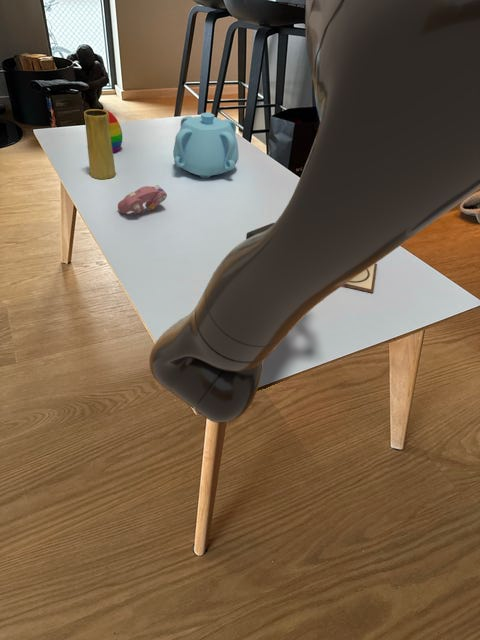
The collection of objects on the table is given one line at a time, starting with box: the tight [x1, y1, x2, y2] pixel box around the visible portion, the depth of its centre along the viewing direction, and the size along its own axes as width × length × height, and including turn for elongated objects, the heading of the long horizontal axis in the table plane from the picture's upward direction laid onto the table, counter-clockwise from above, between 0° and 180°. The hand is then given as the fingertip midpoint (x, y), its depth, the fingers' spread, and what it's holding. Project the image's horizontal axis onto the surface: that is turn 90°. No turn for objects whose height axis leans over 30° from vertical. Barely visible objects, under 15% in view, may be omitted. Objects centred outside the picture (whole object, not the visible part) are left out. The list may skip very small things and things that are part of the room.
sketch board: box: [342, 263, 378, 294], centre depth 87 cm, size 10×10×1 cm
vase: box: [83, 108, 117, 180], centre depth 108 cm, size 6×6×14 cm
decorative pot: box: [172, 112, 240, 179], centre depth 116 cm, size 16×16×14 cm
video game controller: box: [117, 184, 168, 215], centre depth 98 cm, size 10×5×7 cm, turn 132°
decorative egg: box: [104, 109, 123, 153], centre depth 122 cm, size 8×8×10 cm
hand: (312, 225), depth 68 cm, fingers closed on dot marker, 3 cm apart
